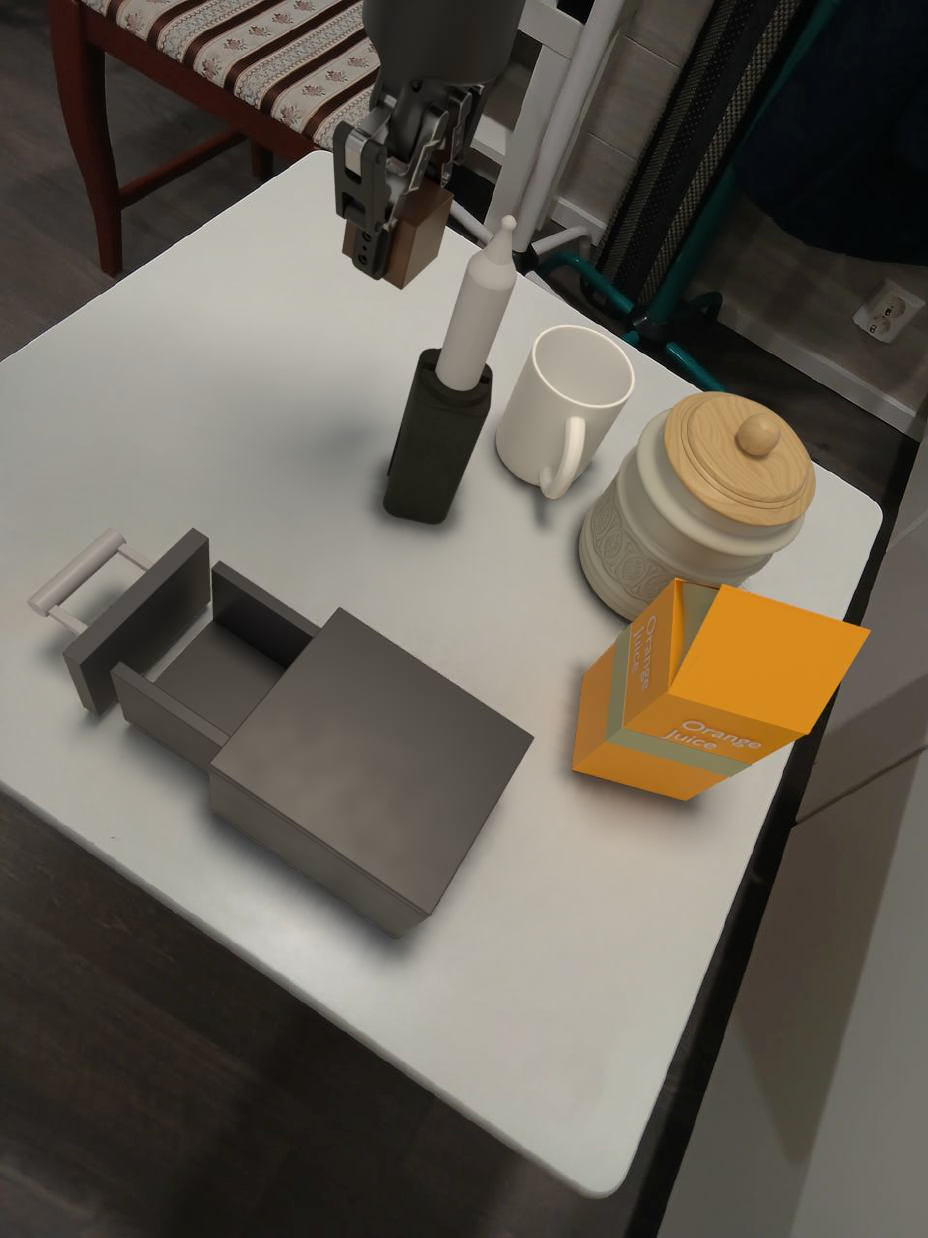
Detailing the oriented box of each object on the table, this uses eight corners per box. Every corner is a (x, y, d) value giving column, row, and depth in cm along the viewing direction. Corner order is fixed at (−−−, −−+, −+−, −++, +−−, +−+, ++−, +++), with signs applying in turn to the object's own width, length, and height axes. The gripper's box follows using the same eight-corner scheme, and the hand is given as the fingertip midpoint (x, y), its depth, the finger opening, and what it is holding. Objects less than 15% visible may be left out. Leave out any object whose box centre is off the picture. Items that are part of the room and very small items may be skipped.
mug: (585, 536, 67) (640, 457, 58) (488, 516, 65) (529, 432, 56) (583, 425, 73) (633, 338, 64) (494, 405, 71) (532, 313, 62)
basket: (18, 662, 50) (-14, 601, 43) (137, 550, 55) (125, 481, 48) (251, 823, 49) (255, 786, 42) (349, 694, 54) (367, 643, 48)
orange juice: (582, 673, 61) (722, 523, 44) (690, 705, 62) (868, 571, 45) (570, 772, 57) (719, 650, 40) (686, 804, 58) (879, 698, 41)
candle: (445, 527, 64) (555, 260, 42) (381, 514, 63) (460, 234, 41) (450, 475, 66) (556, 199, 45) (388, 462, 65) (467, 173, 44)
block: (341, 252, 51) (351, 186, 47) (379, 220, 53) (392, 154, 49) (401, 291, 50) (416, 228, 46) (437, 256, 53) (454, 194, 49)
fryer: (211, 811, 49) (207, 763, 41) (322, 672, 55) (339, 605, 47) (396, 939, 49) (430, 916, 40) (489, 784, 55) (535, 736, 46)
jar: (733, 640, 66) (885, 516, 51) (583, 628, 62) (697, 492, 47) (704, 507, 72) (831, 361, 57) (566, 490, 68) (662, 331, 53)
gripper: (464, -142, 41) (399, 173, 55) (296, -67, 33) (272, 275, 48) (591, -66, 40) (492, 231, 55) (450, 28, 33) (379, 343, 47)
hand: (390, 250), depth 51 cm, fingers closed on block, 4 cm apart
